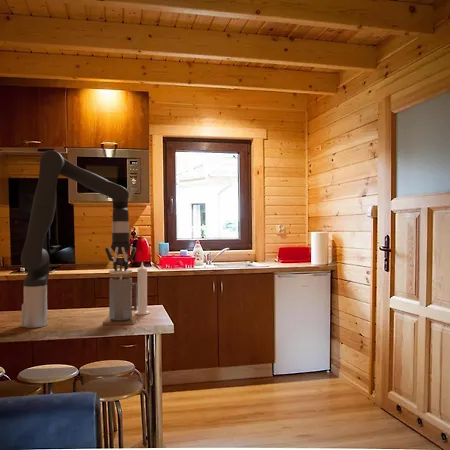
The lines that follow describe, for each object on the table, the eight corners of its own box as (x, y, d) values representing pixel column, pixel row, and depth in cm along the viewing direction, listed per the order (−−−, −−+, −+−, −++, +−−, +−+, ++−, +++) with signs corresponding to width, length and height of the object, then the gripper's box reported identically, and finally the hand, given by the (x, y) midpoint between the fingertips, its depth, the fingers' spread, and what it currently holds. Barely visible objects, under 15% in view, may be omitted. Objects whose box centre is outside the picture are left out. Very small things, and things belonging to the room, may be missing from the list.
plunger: (107, 313, 189) (106, 258, 189) (111, 308, 199) (111, 257, 199) (130, 312, 189) (130, 258, 189) (133, 308, 199) (133, 257, 199)
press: (102, 325, 187) (102, 280, 187) (109, 318, 200) (109, 276, 200) (134, 324, 188) (134, 280, 188) (138, 318, 201) (138, 276, 201)
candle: (135, 315, 208) (135, 262, 208) (134, 312, 215) (134, 261, 215) (150, 314, 210) (150, 262, 210) (148, 311, 216) (148, 261, 217)
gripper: (102, 232, 190) (102, 271, 190) (135, 231, 191) (135, 271, 191) (106, 231, 198) (106, 269, 197) (137, 231, 198) (138, 269, 198)
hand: (120, 270), depth 194 cm, fingers closed on plunger, 3 cm apart
